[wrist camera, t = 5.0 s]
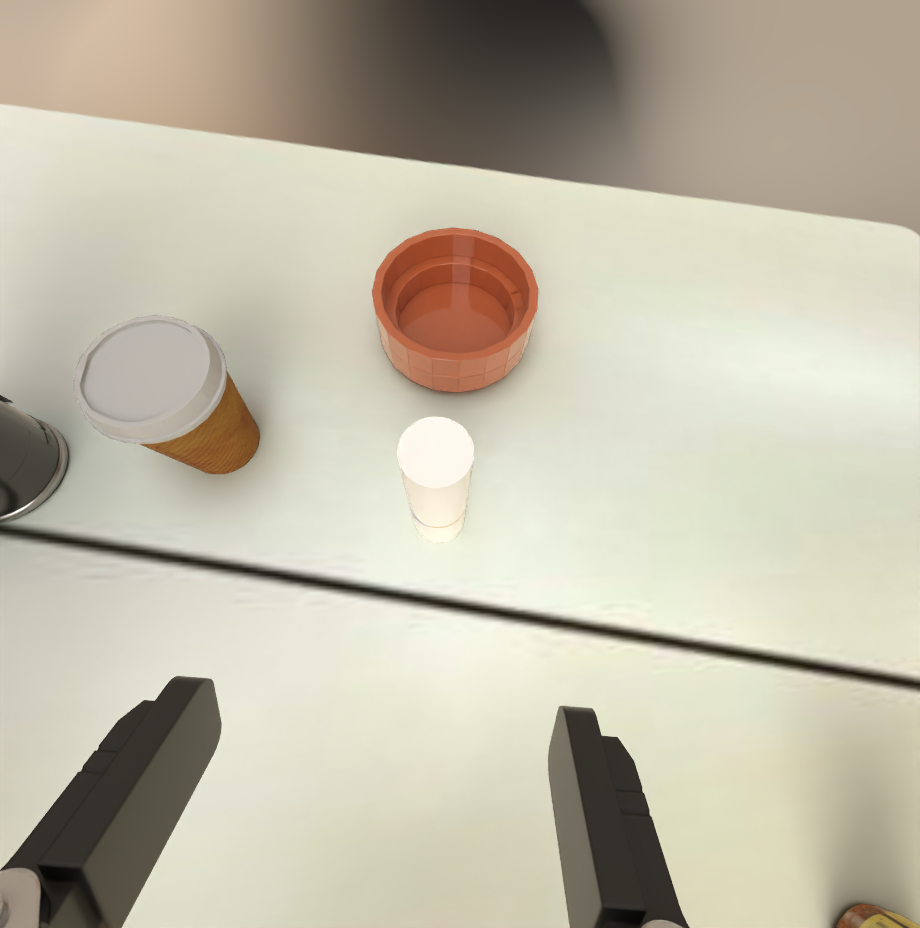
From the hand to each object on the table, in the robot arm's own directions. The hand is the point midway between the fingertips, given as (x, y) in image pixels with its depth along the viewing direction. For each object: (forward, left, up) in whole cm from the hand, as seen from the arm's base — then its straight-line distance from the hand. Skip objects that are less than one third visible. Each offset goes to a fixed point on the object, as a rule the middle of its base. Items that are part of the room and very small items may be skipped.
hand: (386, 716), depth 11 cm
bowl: (+24, +19, -27) cm, 41 cm away
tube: (+9, +7, -27) cm, 29 cm away
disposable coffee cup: (+1, +26, -27) cm, 38 cm away
